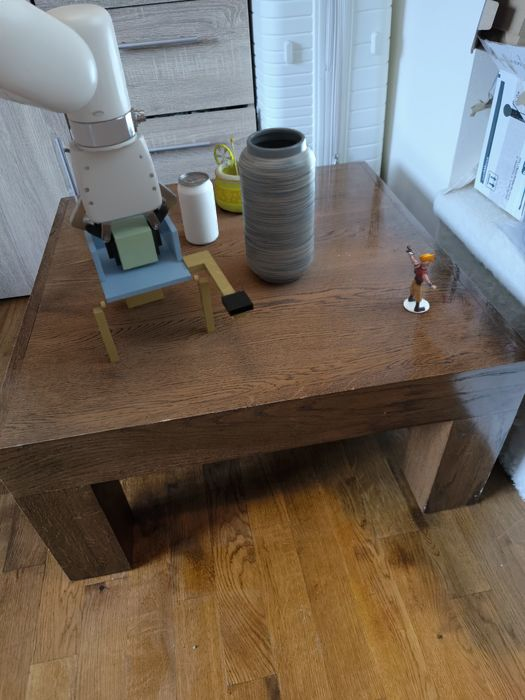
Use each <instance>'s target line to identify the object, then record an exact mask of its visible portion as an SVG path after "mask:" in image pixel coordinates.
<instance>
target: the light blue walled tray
mask: <svg viewBox="0 0 525 700" xmlns="http://www.w3.org/2000/svg"><path fill="white" fill-rule="evenodd" d="M153 211H154V210H153ZM139 215H143V216H144V218H145V220H146V222H147V220H148V219H147V217H146V215H145V214H144V213H143V214H139ZM139 215H134V216H130V217H126V218H122V219H127V218H131V217H135V216H139ZM84 218H85V219H86V220H89V218H88V217H84ZM122 219H118V220H122ZM118 220H114V221H118ZM114 221H111V222H114ZM97 224H98V223H97ZM159 232H160V236H161V241H162V246H159V251H160V255H157V258H158V261H156V262H152V263H149V264H145V265H141V266H138V267H134V268H130V269H126V270H124V269H123V267H122V264H121V265H119V266H117V264H116V261H115V259H114V258H113V259H110V258H109V256H108V253H107V249H106V246H105V243H104V242H103V241H102V239H100V238H98V237H96V236H94V235H92V234H90V233H88V232H87V231H85V230H84V231H83V234H84V236H85V239H86V242H87V246H88V249H89V252H90V255H91V258H92V261H93V264H94V267H95V270H96V273H97V276H98V279H99V282H100V285H101V288H102V291H103V295H104V297H105V300H106V303H107V304H110V303H113V302H118V301H121V300H125V298H128V297H131V296H135V295H139V294H142V293H146V292H149V291H153V290H156V289H160V288H162V289H163V288H166V287H167V288H168V287H169V286H174V285H178V284H181V283H185V282H188V281H192V280H193V277H192V274H194V273H198V272H201V271H205V273H206V274H207V276H208V278H209V280H211V282H212V284H213V285H214V287H215V289H216V291H217V292H218V293H219V295H220V299H221V304H222V305H223V307H224V309H225V310H226V312H227V314H228V315H229V317H233V318H234V319H235V320H238V319H242V318H244V317H245V318H246V317H247V316H248V314H247V312H250V311H253V310H254V309H255V307H254V303H253V301H252V299H251V298H250V296H249V295H248V293H247V292H246V290H245V289H243V290H238V291H235V289H234V288H233V286H232V284H230V281H228V279H227V277H226V276H225V274H224V273H223V271H222V270H221V268H220V266H219V265H218V264H217V262H216V261H215V259H214V258H213V256H212V255H211V253H210V252H209V250H208V249H206V250H202V251H198V252H196V253H192V254H188V255H184V256H183V253H182V249H181V242H180V239H179V232H178V229H177V228H176V226H175V224H174V222H173V221H172V220H171V218H170V216H169V213H168V214H167V215H166V217H165V218H164V220H163V221H162V223H161V227H160V229H159Z"/></svg>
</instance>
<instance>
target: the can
mask: <svg viewBox="0 0 525 700" xmlns="http://www.w3.org/2000/svg"><path fill="white" fill-rule="evenodd" d="M209 175H210V174H208V173H206V172H203V171H190V172H185V173H183V174H182V175H180V176H179V177H178V179H177V182H178V184H177V187H176V188H177V189H176V190H177V191H176V192H177V198H178V202H179V208H180V213H181V221H182V225H183V230H184V236H185V240H186V241H187V242H188V243H190V244H191V245H195V246H205V245H209V244H212V243H213V242H215V241H216V240H217V238H218V237H219V224H218V216H217V208H216V199H215V191H214V186H213V183H212V181H211V179H210V176H209Z"/></svg>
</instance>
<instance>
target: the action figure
mask: <svg viewBox="0 0 525 700" xmlns="http://www.w3.org/2000/svg"><path fill="white" fill-rule="evenodd" d="M406 249H407V250H405V253H406V254H407V253H408V254H407V255H408V256H409V260H410V261H411V264H412V265H413V268H414V270H413V273H414V278H413V280H412V281H411V284H410V287H409V297H408V298H406V299H405V300H404V301H403V307H404V308H405V309H406V310H407V311H409V312H412V313H416V314H419V313H420V314H421V313H425V312H427V311H428V310H429V309H430V303H429V302H428V301H427V300H425V298H423V295H424V290H423V289H424V288H423V285H424V282H425V284H426V285H428V286H429V287H430V288H432V290H436V289H437V287H438V286H437V285H434V284H433V283H432V282H431V280H429V276H428V275H429V274H428V269H427V268H429V267H430V266H431V264H432V263H433V262H434V261H435V260H434V259H435V254H431V253H424V254H421V255H420V256H419V257H418V259H419V260H416V259H415V258H414V255H415V254H416V253H415V251H414V249H413V247H412V245H406Z"/></svg>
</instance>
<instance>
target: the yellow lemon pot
mask: <svg viewBox="0 0 525 700" xmlns="http://www.w3.org/2000/svg"><path fill="white" fill-rule="evenodd" d="M229 141H230V144H231V148H232V151H231V150H230V148H229V147H228V146H226V145H225V144H223V143H222V144H221V143H220V144H218V145H216V146H215V147H214V149H213V157H214V160H215V163H216V164H217V165H218V166H217V167H216V168H215V170H214V176H215V179H214V180H215V181H214V200H215V203H216V204H217V205H218V206H219V207H220V209H222V210H224V211H227V212H231V213H243V211H242V199H241V188H240V176H239V165H238V162H239V158H236V153H235V152H236V151H235V147H234V146H235V145H234V141H235V139H234V138H233V137H232V136H231V137H230V139H229ZM221 147H222V148H223V149H224V150H222V149H221ZM217 150H218V152H219V154H218V153H217ZM227 152H228V154H229V156H226V153H227ZM218 158H221V161H219V159H218Z"/></svg>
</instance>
